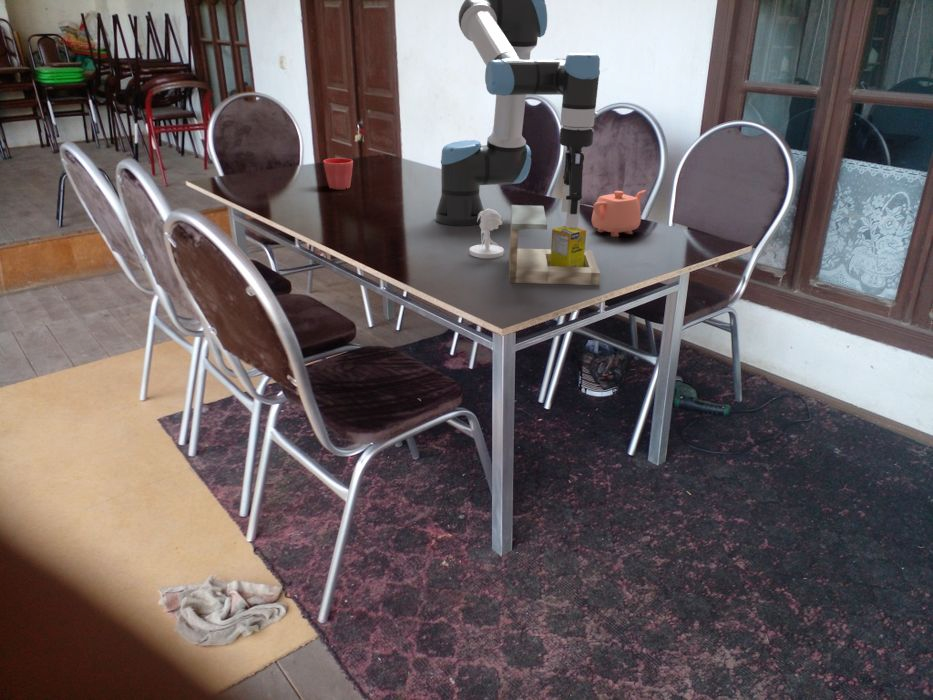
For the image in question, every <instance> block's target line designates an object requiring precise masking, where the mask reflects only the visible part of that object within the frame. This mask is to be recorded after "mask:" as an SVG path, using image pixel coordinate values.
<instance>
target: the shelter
mask: <svg viewBox="0 0 933 700" xmlns="http://www.w3.org/2000/svg"><path fill="white" fill-rule="evenodd" d="M519 230H545V231H546V230H548V221H547V218H546V212H545V207H544V205H528V204H527V205H525V204H523V205H521V204H520V205H519V204H511V207H510V233H509V253H508V255H509V257H508V263H509V264H508V265H509V267H508V268H509V269H508V271H509V274H508V275H509V283H511V284H512V283H516V284H518V283H519V284H548V285H581V286H584V285H585V286H600V279H601V271H600V269H599V266H598V263H597V261H596V258H595V257H594V252H593V251H592V250H591V249H590V250H589V249H588V250H586V249H585V253H584V265H583V267H559V266H550V260H551V248H547V249H546V248H518V246H519V243H518V241H519Z"/></svg>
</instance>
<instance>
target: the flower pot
mask: <svg viewBox="0 0 933 700" xmlns="http://www.w3.org/2000/svg"><path fill="white" fill-rule="evenodd" d="M323 168H324V173H325V175H326V176H325V177H326V182H327V185H328V187H329V189H331V188H332V190H334V189H335V190H346V188H347V189H349V188H350V187H351V182H352V177H353V176H352V173H353V168H354V161H353V159H351V158H345V157H344V158H343V157H342V158H341V157H339V158H338V157H337V158H336V157H334V158H326V159H324V160H323Z"/></svg>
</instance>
